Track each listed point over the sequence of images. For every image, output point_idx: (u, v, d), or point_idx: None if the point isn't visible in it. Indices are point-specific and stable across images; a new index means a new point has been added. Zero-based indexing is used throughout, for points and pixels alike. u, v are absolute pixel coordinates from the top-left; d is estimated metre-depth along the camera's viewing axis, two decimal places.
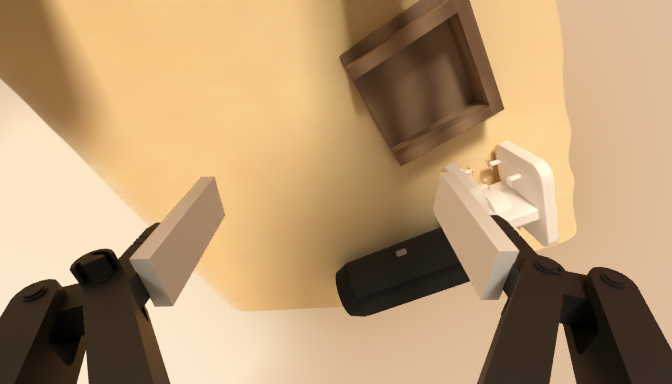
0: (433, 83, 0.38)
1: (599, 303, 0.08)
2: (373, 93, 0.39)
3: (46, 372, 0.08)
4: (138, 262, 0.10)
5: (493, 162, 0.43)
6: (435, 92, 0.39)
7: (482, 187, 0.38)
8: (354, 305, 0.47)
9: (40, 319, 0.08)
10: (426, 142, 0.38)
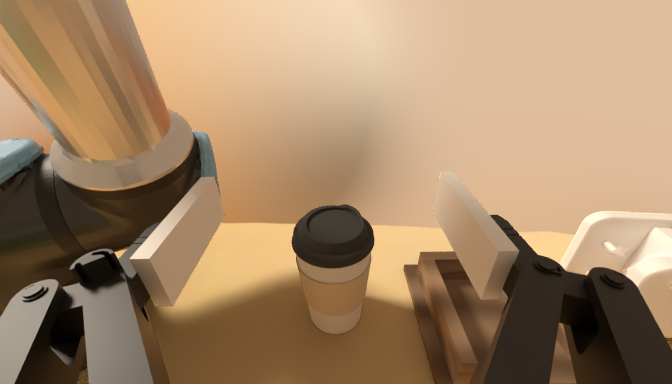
0: (490, 304, 0.36)
1: (599, 303, 0.08)
2: None
3: (46, 372, 0.08)
4: (138, 262, 0.10)
5: None
6: (501, 306, 0.36)
7: None
8: None
9: (40, 319, 0.08)
10: None
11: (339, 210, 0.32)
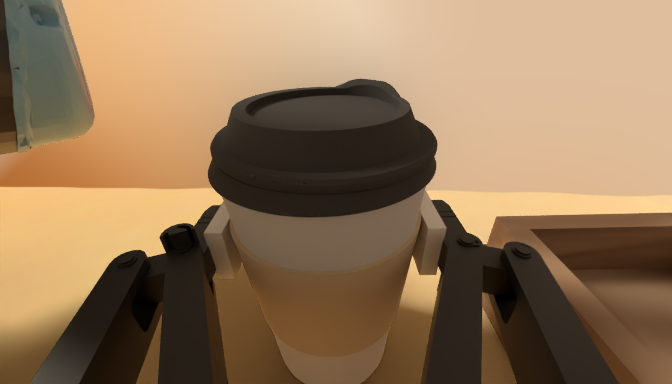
0: (658, 320, 0.17)
1: (514, 275, 0.09)
2: None
3: (126, 336, 0.09)
4: (211, 236, 0.12)
5: None
6: None
7: None
8: None
9: (127, 287, 0.09)
10: None
11: (339, 95, 0.13)
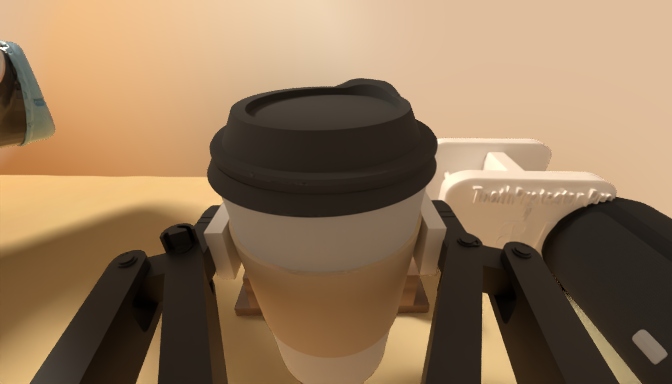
0: None
1: (514, 275, 0.09)
2: None
3: (126, 336, 0.09)
4: (211, 236, 0.12)
5: None
6: None
7: None
8: None
9: (127, 287, 0.09)
10: None
11: (339, 95, 0.13)
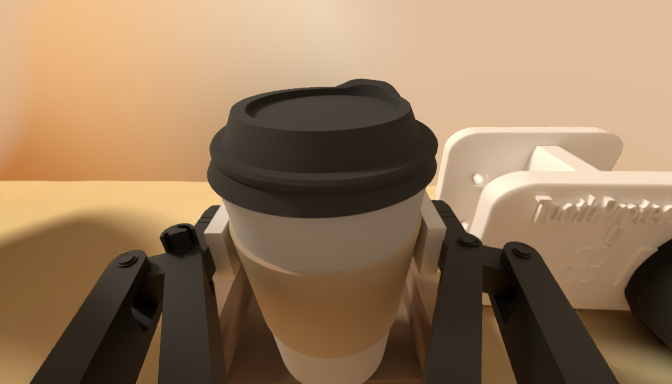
0: None
1: (514, 275, 0.09)
2: None
3: (126, 336, 0.09)
4: (211, 236, 0.12)
5: None
6: None
7: None
8: None
9: (127, 287, 0.09)
10: (417, 275, 0.19)
11: (339, 95, 0.13)
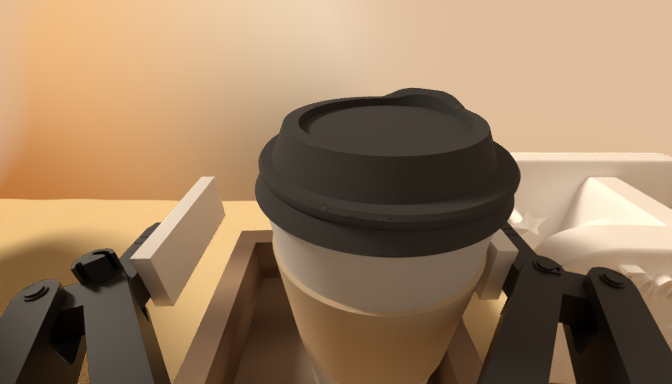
0: None
1: (598, 303, 0.08)
2: None
3: (47, 372, 0.08)
4: (139, 262, 0.10)
5: None
6: None
7: None
8: None
9: (41, 319, 0.08)
10: (453, 356, 0.14)
11: (388, 106, 0.12)
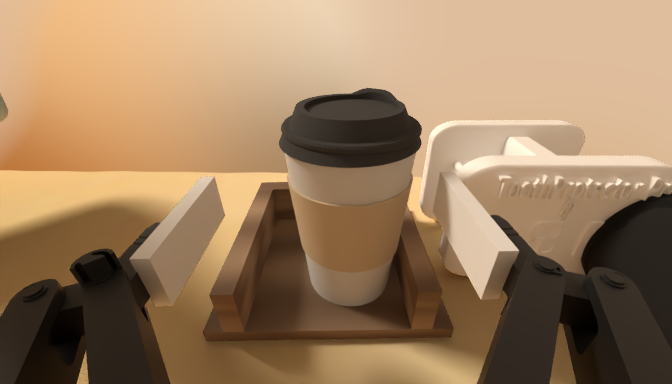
0: None
1: (599, 303, 0.08)
2: (295, 312, 0.21)
3: (46, 372, 0.08)
4: (138, 262, 0.10)
5: None
6: None
7: None
8: None
9: (40, 319, 0.08)
10: (407, 244, 0.22)
11: (355, 99, 0.20)
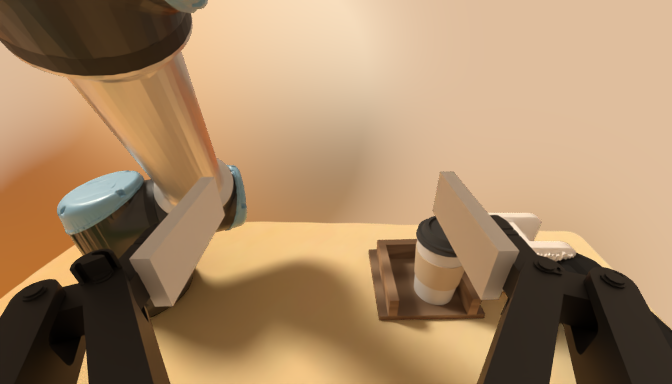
0: None
1: (599, 303, 0.08)
2: (415, 307, 0.49)
3: (46, 372, 0.08)
4: (138, 262, 0.10)
5: None
6: None
7: None
8: None
9: (40, 319, 0.08)
10: (463, 277, 0.49)
11: None
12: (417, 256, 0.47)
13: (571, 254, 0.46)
